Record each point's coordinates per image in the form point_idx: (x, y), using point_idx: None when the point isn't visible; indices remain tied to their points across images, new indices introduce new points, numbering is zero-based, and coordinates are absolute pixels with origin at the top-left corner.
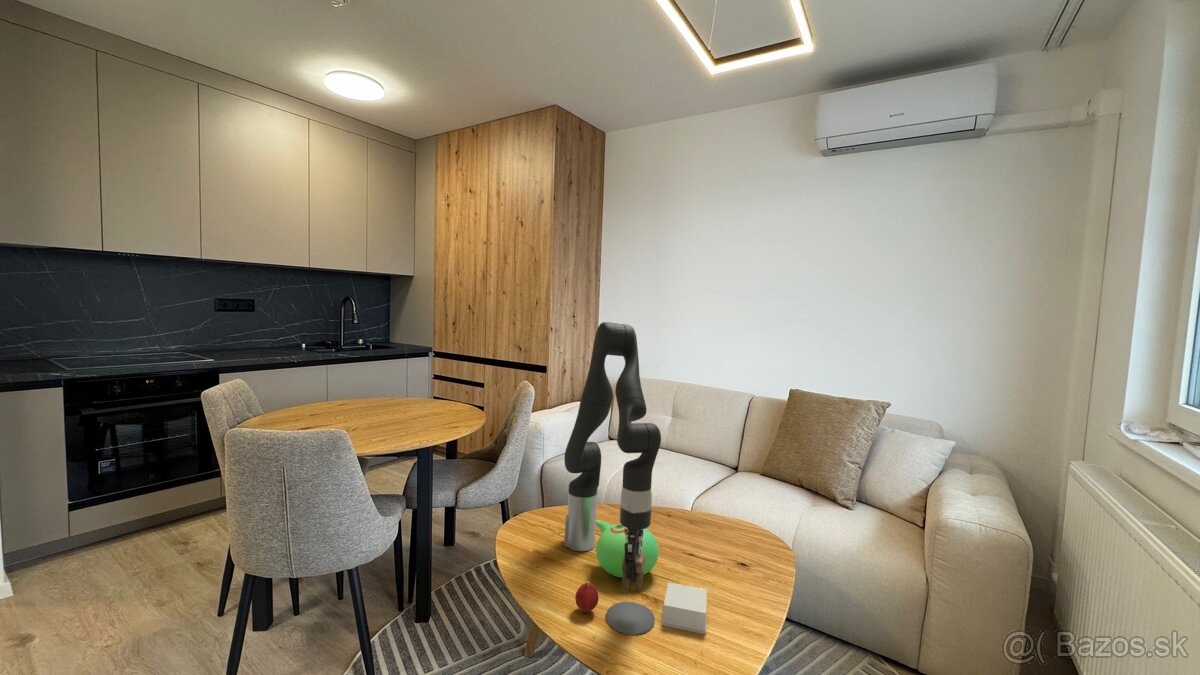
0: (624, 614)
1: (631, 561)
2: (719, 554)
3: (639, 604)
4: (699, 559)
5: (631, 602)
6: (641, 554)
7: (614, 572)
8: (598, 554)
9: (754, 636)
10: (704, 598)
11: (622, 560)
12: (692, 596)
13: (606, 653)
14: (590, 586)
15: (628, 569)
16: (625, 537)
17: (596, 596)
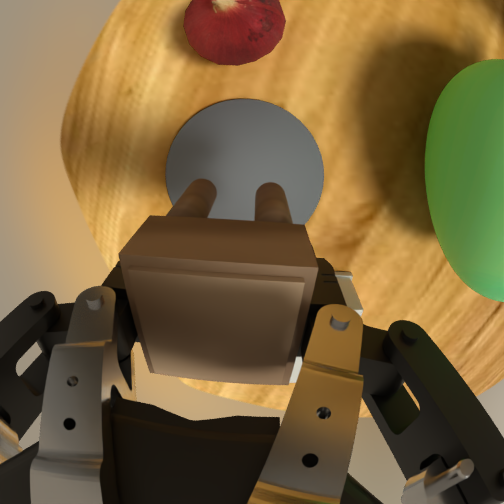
0: (250, 159)
1: (43, 352)
2: (481, 348)
3: (314, 202)
4: (481, 323)
5: (321, 176)
6: (264, 377)
7: (430, 120)
8: (486, 61)
9: (253, 395)
10: (292, 379)
11: (119, 255)
12: (296, 362)
13: (88, 143)
14: (220, 19)
15: (107, 280)
16: (33, 486)
17: (216, 56)
